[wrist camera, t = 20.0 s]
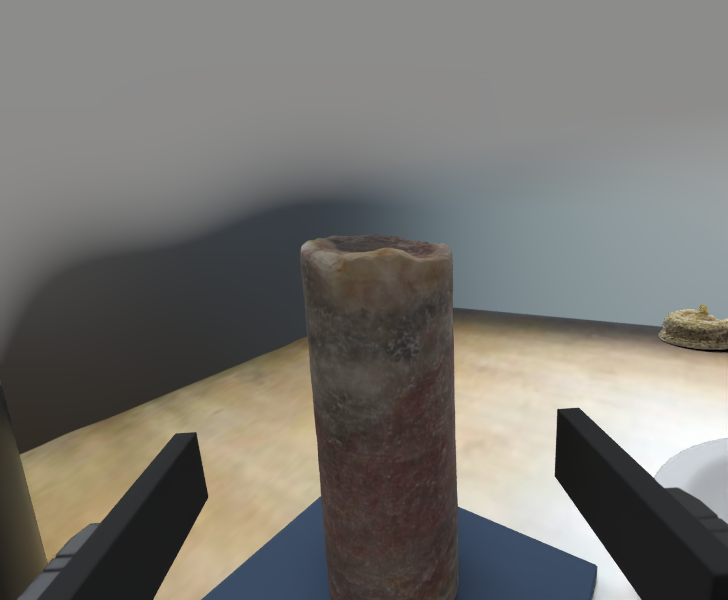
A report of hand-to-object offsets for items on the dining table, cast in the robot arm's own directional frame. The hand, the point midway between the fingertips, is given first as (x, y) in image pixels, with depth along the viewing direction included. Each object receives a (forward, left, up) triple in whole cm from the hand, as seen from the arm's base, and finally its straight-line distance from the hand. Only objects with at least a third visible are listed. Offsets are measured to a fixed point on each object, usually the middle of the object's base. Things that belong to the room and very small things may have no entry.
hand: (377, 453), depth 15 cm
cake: (+12, +63, -14) cm, 65 cm away
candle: (-3, +5, -13) cm, 14 cm away
